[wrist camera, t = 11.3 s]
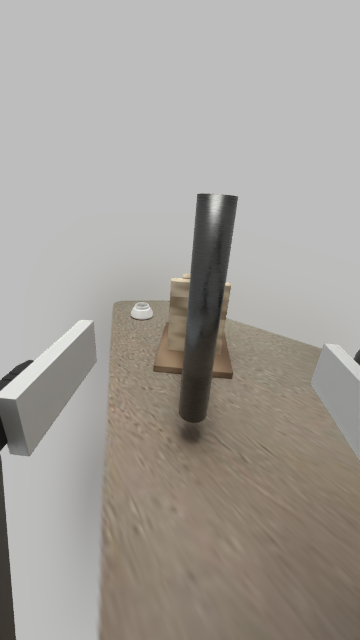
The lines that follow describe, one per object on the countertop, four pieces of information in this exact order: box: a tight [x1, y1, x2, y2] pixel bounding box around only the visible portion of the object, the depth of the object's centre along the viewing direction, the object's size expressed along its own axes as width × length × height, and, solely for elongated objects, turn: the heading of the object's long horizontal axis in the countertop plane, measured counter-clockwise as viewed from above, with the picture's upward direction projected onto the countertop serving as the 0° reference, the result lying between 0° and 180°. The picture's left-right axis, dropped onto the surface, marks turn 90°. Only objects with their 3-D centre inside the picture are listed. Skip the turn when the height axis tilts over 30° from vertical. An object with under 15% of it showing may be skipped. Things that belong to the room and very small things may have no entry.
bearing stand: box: [154, 273, 233, 379], centre depth 43 cm, size 12×16×13 cm
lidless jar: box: [131, 302, 153, 320], centre depth 57 cm, size 5×3×5 cm
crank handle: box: [179, 194, 238, 423], centre depth 30 cm, size 3×18×21 cm, turn 176°
